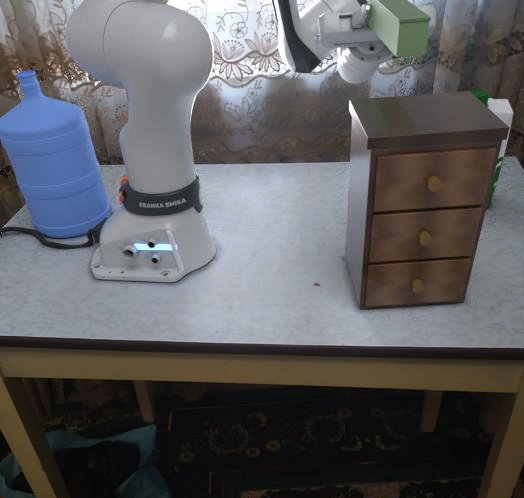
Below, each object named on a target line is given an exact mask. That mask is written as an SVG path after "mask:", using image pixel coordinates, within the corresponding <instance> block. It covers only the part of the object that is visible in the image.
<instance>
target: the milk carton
mask: <svg viewBox="0 0 524 498" xmlns="http://www.w3.org/2000/svg"><path fill="white" fill-rule="evenodd" d="M468 91H470V92H471V93H472V94H473V95H475V96H476V97H477V98H478V99H479V100H480V101H481V102H482V103H483V104H484V105H486V106H487V107H488V108H489V109H490V110H491V111H492V112H493V113H494V114H495V115H496V116H498V117H499V118H500V119H501V120H502V121H503V122H504V123H505V124H506V125H507V126H508V127H509V132H508V136H507V140H502V145H501V149H500V153H499V157H498V162H497V166H496V170H495V174H494V178H493V183H492V187H491V191H490V195H489V199H488V204H487V208H486V210H487V209H489V208H490V205H491V202H492V199H493V196H494V193H495V191H496V187H497V184H498V181H499V177H500V174H501V169H502V166H503V162H504V158H505V155H506V154H505V153H506V150H507V145H508V142H509V137H510V132H511V128H512V122H513V117H514V110H513V108H512V106H511V104H510V102H509V99H508V98H492V97H490V92H489V91H487V90H484V89H470V90H468Z"/></svg>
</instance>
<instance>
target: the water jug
mask: <svg viewBox="0 0 524 498" xmlns="http://www.w3.org/2000/svg"><path fill="white" fill-rule="evenodd" d="M36 74H37V72H36V71H35V70H32V69H31V70H29V69H27V70H23V71H19V72H16V74H15V76H16V78H18V82H19V87H20V89H21V91H22V94H23V99H22V101H20V102H19V103H17V104H16V105H15V106H14V107H12V108H11V109H10V110H9V111H8V112H6V113H5V114H4V115H2V116H1V117H0V142H1V144H2V147H3V149H4V151H5V152H6V155H7V157H8V160H9V162H10V165H11V167H12V170H13V172H14V175H15V180H16V183H17V186H18V188H19V190H20V192H21V194H22V197H23V199H24V201H25V205H26V206H27V210H28V211H29V214H30V217H31V222H32V225H33V226H34V229H35V230H36V231H38V232H39V233H40V234H41V235H42V236H45V237H48V238H55V239H67V238H68V239H69V238H75V237H79V236H83V235H87V232H88V231H89V230H90V229H92V228H94V227H95V226H96V225H97V224H99V223H100V222H101V221H102V220H103V219H104V218H109V217H110V216H111V215H112V206H111V202H110V200H109V198H108V196H107V191H106V188H105V184H104V180H103V178H102V171H101V167H100V164H99V163H100V162H99V161H98V158H97V154H96V151H95V148H94V145H93V140H92V137H91V131H90V127H89V124H88V121H87V118H86V115H85V112H84V109H83V108H82V107H81V106H79V105H78V104H75V103H72V102H67V101H64V100H60V99H57V98H52V97H48V96H45V95H44V94H43V92H42V90H41V86H40V82H39V81H38V78H37V76H36Z"/></svg>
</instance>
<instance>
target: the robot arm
mask: <svg viewBox="0 0 524 498" xmlns="http://www.w3.org/2000/svg"><path fill="white" fill-rule="evenodd" d="M170 2H171V0H83V1H82V2H81V3H79V5H77V7H76V8H75V9H73V11H72V12H71V13H70V15H69V17H68V19H67V22H66V28H65V42H66V46H67V47H66V48H67V50H68V53H69V55H70V56H71V59H72V60H73V61H74V63H75V64H76V65H77V66H78V68H80V69H81V70H82V71H83V72H85V73H86V74H87V75H89V76H91V77H92V78H94V79H96V80H97V81H99V82H101V83H103V84H107V85H111V86H116V87H119V88H123V89H124V90H125V93H126V92H127V94H126V96H127V95H128V99H127V103H128V102H129V103H128V114H127V115H128V117H127V122H126V123H125V124H124V125H123V126H122V127H121V129H120V132H119V135H118V143H119V147H120V152H121V155H122V160H123V163H124V167H125V173H126V174H123V176H122V177H121V180H120V182H119V185H120V187H119V190H118V193H119V194H118V200H119V204H120V206H119V207H118V208H117V209H116V210H114V211H113V213H111V216H110V217H109V218H104V219H103V220H102V221H101V222H100V223H99V224H97V225H96V226H95V227H94V228H92V229H90V230H89V231H88V232H87V234H86V237H87V240H88V241H86V242H84V243H82V244H66V243H60V242H56V241H51V240H48V239H46V238H45V237H44V235H43V234H41V233H39V232H38V231H37V230H36V229H32V228H29V227H23V226H4V227H1V228H0V236H2V234H5V233H10V232H11V233H12V232H14V233H15V232H16V233H23V234H30V235H33V236H35V237H36V238H37V239H38V240H39V242H40V243H41V244H43V245H45V246H48V247H50V248H51V247H52V248H55V249H61V250H74V249H84V248H90V247H91V246H92V245H93V244H94V243H96V244H98V245H97V247H96V249H95V250H94V252H93V255H92V257H91V260H90V268H91V273H92V275H93V277H94V278H95V279H96V280H108V281H109V280H110V281H128V282H129V281H131V282H150V283H151V282H152V283H153V282H154V283H176V282H178V281H179V280H181V279H183V278H184V277H185V276H186V275H187V274H189V273H192V272H194V271H196V270H197V269H198V270H199V269H200V268H203V267H204V266H206V265H207V264H208V263H210V262H211V260H212V259H214V258H215V255H216V253H217V246H216V244H215V241H214V239H213V237H212V235H211V233H210V230H209V226H208V224H207V220H206V217H205V214H204V210H203V208H204V196H203V190H202V184H201V182H200V177H199V174H198V172H197V171H196V166H195V160H194V151H193V143H192V133H191V124H192V113H193V108H194V103H195V100H196V98H197V96H198V94H199V93H200V92H201V90H203V88H205V86H206V85H207V83H208V81H209V79H210V77H211V74H212V71H213V67H214V59H215V53H214V52H215V51H214V44H213V41H212V37H211V34H210V31H209V29H208V27H206V25H205V23H203V21H202V20H200V19H199V18H198V17H196V16H195V15H193V14H191V13H188V12H187V11H185V10H183V9H181V8H178V7H176V6H173V5H171V4H169V3H170ZM367 2H368V0H313V2H311V3H310V4H309V5H308V6H306V7H305V8H304V9H303V10H302V11H301V12H300V10H299V5H298V0H269V3H270V7H271V11H272V16H273V20H274V26H275V33H276V34H275V35H276V44H277V48H278V52H279V54H280V58H281V59H282V61H283V64H284V65H286V67H287V68H288V69H289V70H290V71H291V72H292V73H296V74H312V73H313V72H314V70H316V69H317V67H318V66H320V64H321V63H322V62H323V61H324V60H325V59H327V58H328V57H329V56H330V55H332V53H334V52H335V51H336V50H337V72H338V74H339V76H340V77H341V79H342V80H344V81H345V82H347V83H350V84H355V85H356V84H361V83H364V82H366V81H368V80H369V79H371V77H372V76H373V75H374V74H375V73H376V72H377V71H378V69H379V67H380V66H381V65H382V64H384V63H386V62H389V61H392V60H395V59H400V58H401V57H396V56H395V55H394V54H393V53H392V52H391V50H390V49H389V48H388V47H387V46H386V45H385V44H384V42H383V41H382V40H381V39H380V38H379V37H378V36H377V34H376V33H375V32H374V31H373V30H372V29H371V27H370V26H369V25H368V24H367V23H366V20H367V19H370V18H371V16H372V9H371V8H372V4H367ZM415 6H416V7H417V8H419V9H420V10H422V11H423V12H424V13H426V14H427V15H428V16H430V17H431V21H430V22H429V29H428V37H427V39H429V37H430V36H431V35H432V34H433V32H434V30H435V29H436V24H437V21H436V20H437V11H436V10H437V9H436V6H434V5H433V4H426V5H425V4H424V5H415ZM1 232H2V233H1Z"/></svg>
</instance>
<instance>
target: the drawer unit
mask: <svg viewBox="0 0 524 498" xmlns="http://www.w3.org/2000/svg"><path fill="white" fill-rule="evenodd" d="M348 102H349V103H348V111H349V113H350V117H351V129H350V130H351V131H350V132H351V133H350V149H349V150H350V151H349V152H350V154H349V170H348V171H349V174H348V176H349V177H348V193H347V216H346V234H345V235H346V237H345V261H346V265H347V269H348V272H349V276H350V281H351V283H352V287H353V291H354V295H355V299H356V302H357V305H358V308H359V310H367V309H368V310H369V309H380V308H381V309H382V308H399V307H415V306H429V305H442V304H443V305H445V304H446V305H447V304H459V303H465V300H466V297H467V292H468V288H469V283H470V279H471V274H472V271H473V268H474V267H473V266H474V261H475V258H476V254H477V250H478V245H479V241H480V237H481V233H482V228H483V224H484V219H485V216H486V211H487V209H486V208H487V204H488V199H489V195H490V191H491V187H492V183H493V178H494V174H495V170H496V166H497V162H498V157H499V153H500V149H501V145H502V140H507V136H508V132H509V127H508V126H507V125H506V124H505V123H504V122H503V121H502V120H501V119H500V118H499V117H498V116H496V115H495V114H494V113H493V112H492V111H491V110H490V109H489V108H488V107H487V106H486V105H484V104H483V103H482V102H481V101H480V100H479V99H478V98H477V97H476V96H475V95H473V94H472V93H471V92H470V91H469V90H464V91H463V90H461V91H450V92H437V93H425V94H424V93H423V94H412V95H411V94H410V95H398V96H396V95H395V96H383V97H382V96H381V97H373V98H372V97H371V98H356V99H349V101H348Z"/></svg>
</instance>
